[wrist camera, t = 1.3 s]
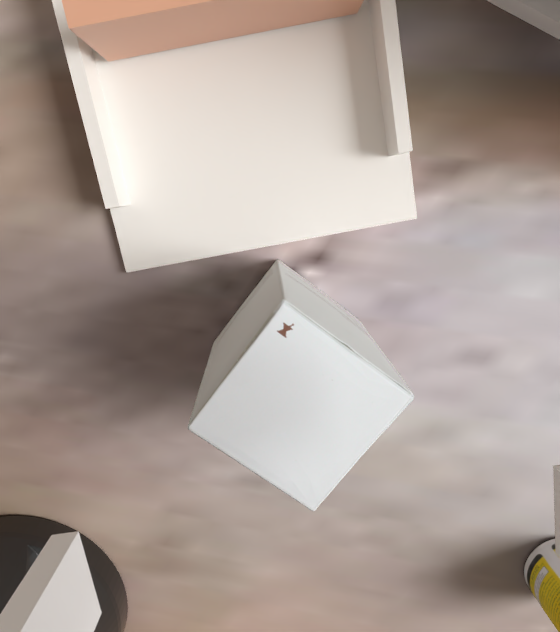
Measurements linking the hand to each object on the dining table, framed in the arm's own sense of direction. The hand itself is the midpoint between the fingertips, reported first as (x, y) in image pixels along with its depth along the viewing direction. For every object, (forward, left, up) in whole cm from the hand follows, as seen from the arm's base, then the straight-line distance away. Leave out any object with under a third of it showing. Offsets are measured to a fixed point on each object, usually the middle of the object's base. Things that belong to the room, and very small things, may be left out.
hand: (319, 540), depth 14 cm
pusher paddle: (0, +21, -20) cm, 29 cm away
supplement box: (0, 0, -21) cm, 21 cm away
